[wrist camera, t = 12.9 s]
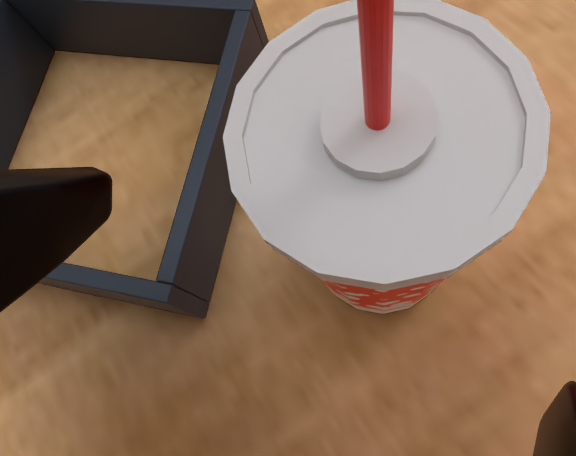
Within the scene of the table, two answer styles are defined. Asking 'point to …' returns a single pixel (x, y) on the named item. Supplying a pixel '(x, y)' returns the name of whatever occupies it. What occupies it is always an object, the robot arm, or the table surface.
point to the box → (209, 147)
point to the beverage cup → (386, 145)
